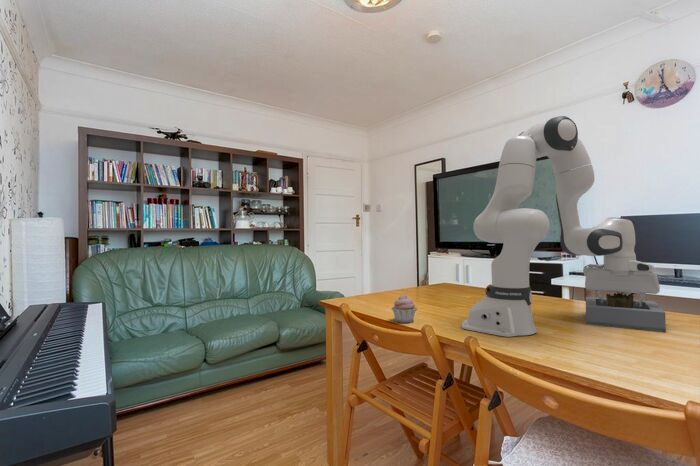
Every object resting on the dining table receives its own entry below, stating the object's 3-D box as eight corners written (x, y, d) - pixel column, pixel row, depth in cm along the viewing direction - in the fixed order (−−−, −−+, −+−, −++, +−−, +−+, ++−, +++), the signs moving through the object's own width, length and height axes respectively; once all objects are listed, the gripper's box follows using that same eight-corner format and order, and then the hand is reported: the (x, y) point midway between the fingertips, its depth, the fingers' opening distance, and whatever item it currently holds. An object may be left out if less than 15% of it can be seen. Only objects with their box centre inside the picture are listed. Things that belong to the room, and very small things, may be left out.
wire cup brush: (625, 314, 122) (623, 292, 122) (640, 320, 115) (639, 296, 115) (602, 315, 123) (601, 293, 123) (617, 321, 116) (615, 297, 115)
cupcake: (409, 325, 120) (408, 297, 120) (386, 322, 126) (386, 294, 126) (422, 320, 127) (421, 293, 127) (400, 317, 134) (400, 291, 134)
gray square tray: (586, 324, 117) (585, 306, 117) (586, 312, 133) (585, 296, 133) (665, 332, 105) (665, 312, 105) (655, 318, 122) (654, 301, 122)
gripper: (583, 264, 123) (584, 303, 122) (660, 266, 111) (661, 309, 111) (583, 263, 128) (584, 300, 128) (656, 264, 116) (657, 306, 116)
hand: (620, 304), depth 119 cm, fingers open, 8 cm apart
